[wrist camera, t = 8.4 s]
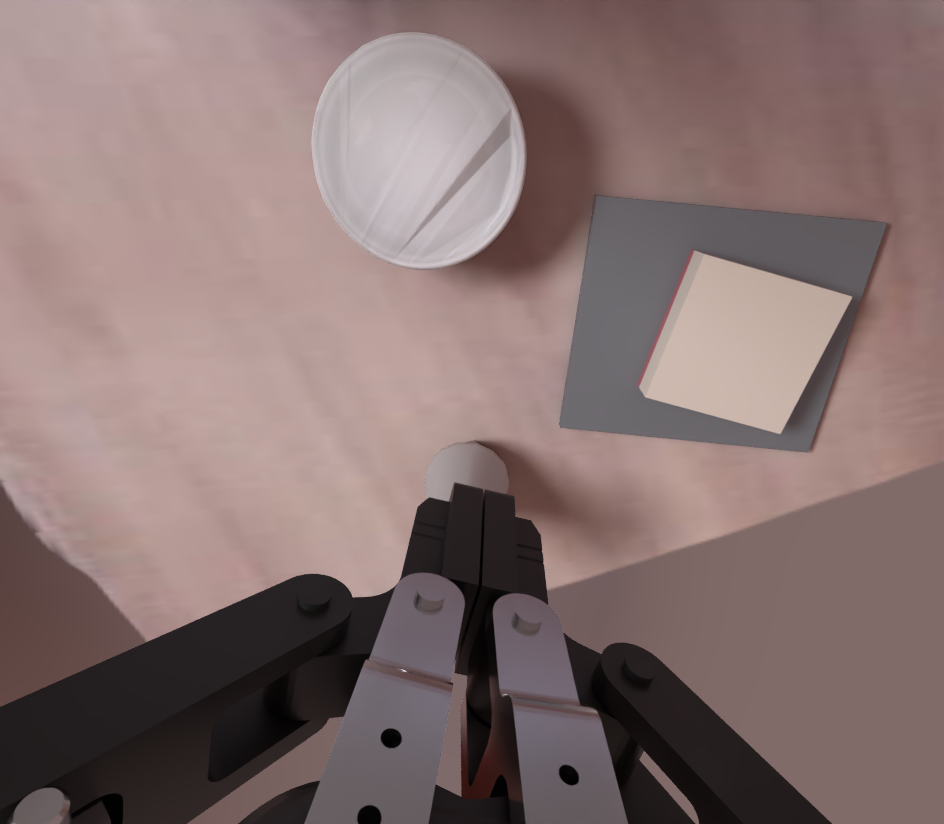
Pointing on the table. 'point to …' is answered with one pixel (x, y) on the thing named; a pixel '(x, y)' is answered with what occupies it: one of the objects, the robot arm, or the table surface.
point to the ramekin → (419, 150)
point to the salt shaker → (465, 470)
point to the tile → (740, 341)
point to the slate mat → (651, 289)
